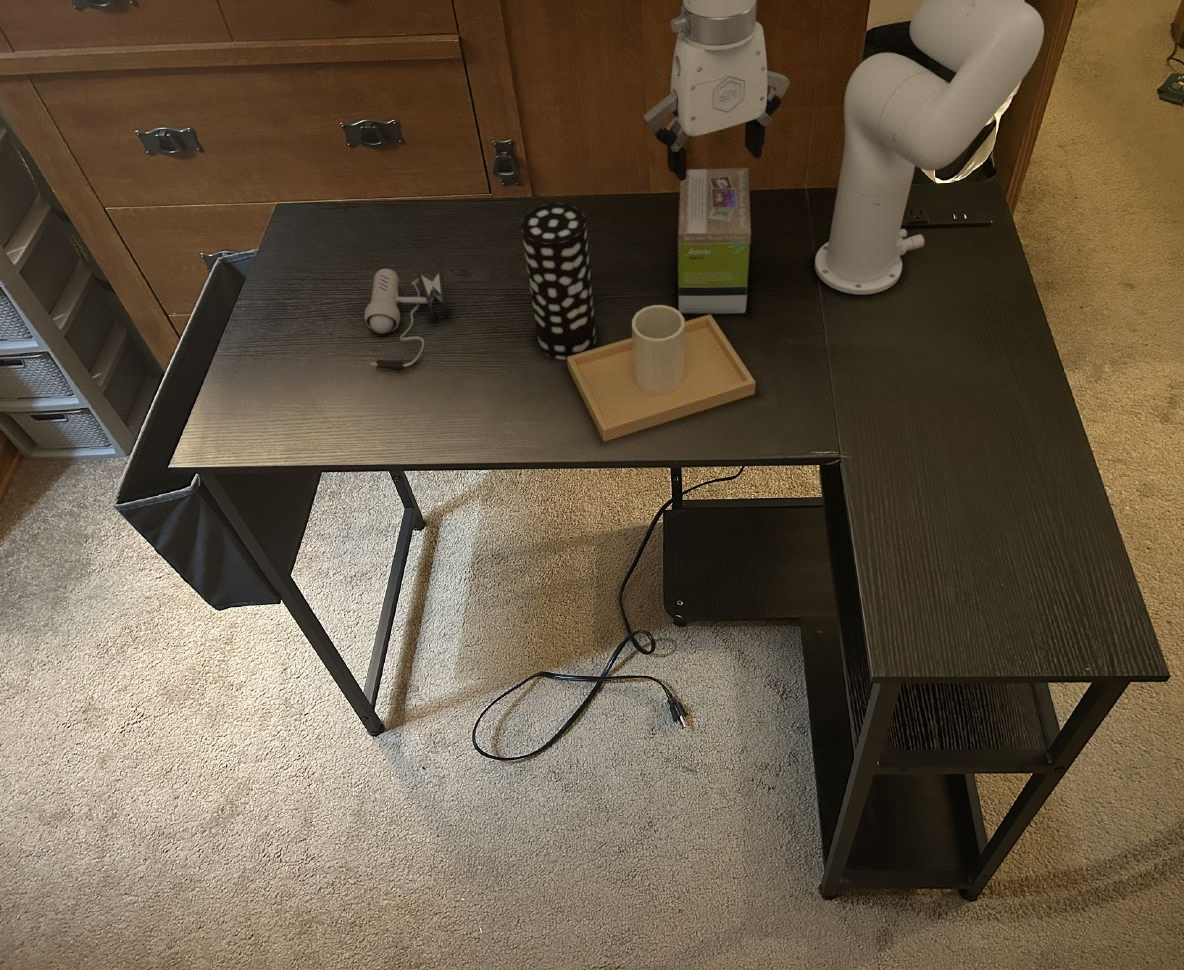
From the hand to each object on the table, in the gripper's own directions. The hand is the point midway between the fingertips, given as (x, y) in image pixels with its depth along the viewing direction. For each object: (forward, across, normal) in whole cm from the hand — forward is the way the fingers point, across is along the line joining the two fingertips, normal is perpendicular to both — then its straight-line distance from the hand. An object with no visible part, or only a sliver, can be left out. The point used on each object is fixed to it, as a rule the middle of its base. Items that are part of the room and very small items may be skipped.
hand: (715, 163), depth 109 cm
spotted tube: (+27, -19, +7) cm, 34 cm away
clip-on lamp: (+27, -40, +18) cm, 52 cm away
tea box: (+28, +5, +10) cm, 30 cm away
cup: (+26, -10, -6) cm, 29 cm away
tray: (+27, -10, -6) cm, 30 cm away
